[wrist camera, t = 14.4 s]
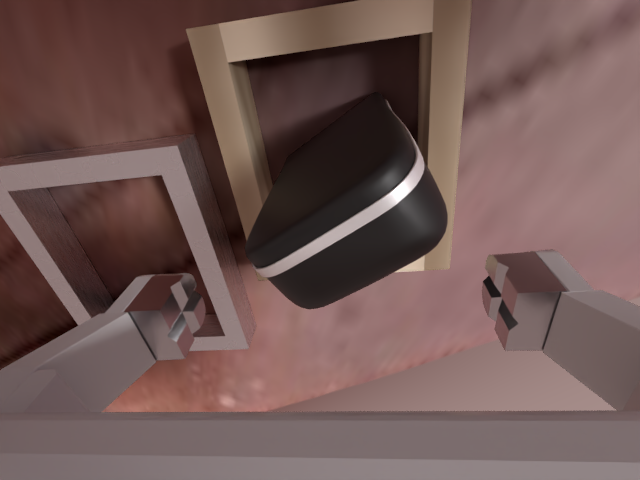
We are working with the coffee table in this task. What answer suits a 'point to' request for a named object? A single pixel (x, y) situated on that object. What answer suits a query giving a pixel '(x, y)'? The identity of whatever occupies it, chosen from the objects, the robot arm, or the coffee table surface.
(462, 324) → the coffee table surface
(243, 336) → the frame
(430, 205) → the battery charger
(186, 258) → the coffee table surface
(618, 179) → the coffee table surface
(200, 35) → the tan wooden frame
